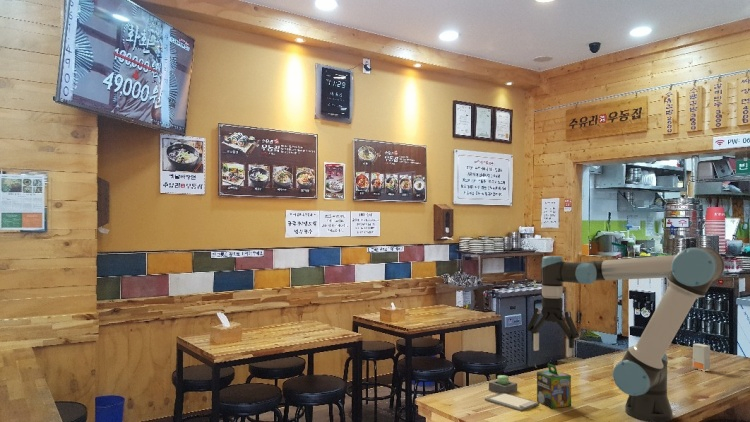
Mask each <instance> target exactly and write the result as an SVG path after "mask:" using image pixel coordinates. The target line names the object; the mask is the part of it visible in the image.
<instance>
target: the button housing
mask: <svg viewBox="0 0 750 422" xmlns="http://www.w3.org/2000/svg"><path fill="white" fill-rule="evenodd" d="M488 390H489V391H491V392H495V393H497V394H500V393H507V394H512V393H515V392H518V382H514V381H513V382H512V381H510V380H509V384H508V385H505V386H504V385H501V384H497V379H496V380H493V381H492V380H491V381H490V382H488Z"/></svg>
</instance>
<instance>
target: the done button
mask: <svg viewBox="0 0 750 422" xmlns="http://www.w3.org/2000/svg"><path fill="white" fill-rule="evenodd" d="M509 378H510V377H509V376H508V375H505V374H503V375H502V374H499V375H497V379H496V380H497V384H501V385H504V386H505V385H508V384H509V381H510V379H509Z"/></svg>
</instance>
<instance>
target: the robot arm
mask: <svg viewBox="0 0 750 422" xmlns="http://www.w3.org/2000/svg"><path fill="white" fill-rule="evenodd" d="M541 261H542V262H541V268H540V269H541V296H542V297H541V306H542V308H541V307H535V308H534V311H533V312H534V313H533V314H532V317H531V320H530V321H529V323H528V324H527V325H528V326H527V328H526V330H527V332H530V333H531V341H532V342H533V351H534V352H537V351H540V332H538V331H539V330H540V329H541V328H542V326H544V324H545V323H546V322H551V323H556V324H558V325H559V327H560V328H561V330H562V331H563V332H564V334H565V335H566V337H567V338H565V339H566V340H565V341H566V347H565V348H566V352H565V353H566V354H565V355H566V358H571V357H572V356H573V348H575V339H578V338H579V337H580V334H579V331H578V329H577V328H576V325H575V323H574V321H573V318H572V313H571V311H569V310H568V311H563V305H564V304H563V303H564V302H563V300H564V299H563V298H562V297H563V295H564V294H563V290H564V289H563V288H564V287H563V283H575V284H582V285H587V284H588V285H589V284H590V285H591V284H594V283H595V282H596V281H597V282H599V281H600V282H601V281H603V282H604V281H617V280H618V281H620V280H641V279H642V280H643V279H665V278H666V281H667V283H668V286H667V288H666V290H665V292H664V293H663V295H662V297H661V299H660V301H659V303H658V305H657V307H656V308H655V309H654V312H653V314H652V316H651V317H650V319H649V321H648V323H647V325H646V327H645V329H644V330H643V331H642V333H641V335H640V337H639V339H638V341H637V343H636V345H632V346H630V347H629V346H628V349H627V351H626V353H625V354H624V356H623V358H622V360H621V361H619V362H617V364H615V366H614V367H613V371H612V379H613V381H614V384H615V385H616V387H617V389H619V390H620V391H621V392H622V393H624V394H625V395H628V397H627V400H626V403H625V408H624V409H625V413H626V414H627V415H629V416H631V417H633V418H635V419H638V420H642V421H648V422H669V421H670V422H671V421H672V420H673V415H674V414H673V410H672V407H671V406H672V405H671V403H670V400H669V398H668V363H669V361H668V356H667V351H668V349H669V348H670V346H671V343H672V342H673V340H674V338H675V337H676V335H677V334H678V331H679V330H680V327H681V326H682V324H683V323H684V322H685V319H686V318H687V316H688V313H689V312H690V310H691V309H692V306H693V305H694V303H695V301H696V300H697V299H698V298H703V297H705V295H706V294H707V292H708V290H709V289H710V287H711V285H712V283H713V282H715V281H717V280H718V279H719V278H720V277H721V276H722V275H723V273H724V271H725V261H724V258H723V256H722V254H720V253H719V252H718V251H716V250H714V249H713V248H710V247H688V248H685V249H683V250H681V251H679V252H677V253H676V254H674V255H660V256H648V257H635V258H631V257H630V258H620V259H617V258H616V259H606V260H591V261H580V262H572V261H571V262H569V261H564V260H563V257H562V256H560V255H559V256H558V255H546V256H543V257H542V259H541ZM541 314H542V316H541V318H540V319H539V317H540V315H541ZM564 319H565V320H564ZM538 320H539V321H538ZM565 321H566V323H565Z"/></svg>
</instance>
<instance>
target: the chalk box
mask: <svg viewBox="0 0 750 422" xmlns="http://www.w3.org/2000/svg"><path fill="white" fill-rule="evenodd" d="M547 367H548V370H546V369H545V370H541V371H537V372H536V402H538V403H539V404H541V405H544V406H546V407H547V408H550V409H551V410H552V409H558V408H564V407H572V375H571V374H568V373H567V372H563V371H560V370H557V367H556V365H554V364H551V363H548V362H547Z"/></svg>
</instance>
